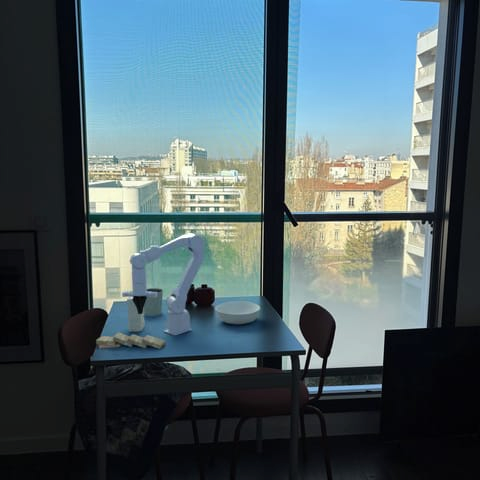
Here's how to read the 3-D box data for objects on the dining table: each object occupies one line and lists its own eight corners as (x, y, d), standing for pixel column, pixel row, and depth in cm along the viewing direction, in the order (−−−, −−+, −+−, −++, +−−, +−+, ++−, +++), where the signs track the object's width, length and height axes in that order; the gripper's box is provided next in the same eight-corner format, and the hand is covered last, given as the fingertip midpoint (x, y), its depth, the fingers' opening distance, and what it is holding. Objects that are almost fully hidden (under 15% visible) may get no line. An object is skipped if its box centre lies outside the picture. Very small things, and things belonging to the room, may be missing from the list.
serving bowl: (219, 330, 204) (219, 315, 203) (212, 316, 225) (212, 303, 224) (265, 326, 208) (265, 311, 207) (254, 313, 229) (254, 300, 228)
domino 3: (150, 340, 189) (132, 334, 190) (146, 344, 184) (127, 338, 185) (149, 343, 189) (131, 337, 190) (145, 348, 184) (126, 342, 185)
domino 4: (165, 340, 188) (147, 334, 189) (160, 345, 183) (142, 339, 184) (164, 344, 188) (146, 338, 189) (160, 348, 183) (141, 342, 184)
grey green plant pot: (139, 314, 231) (138, 290, 229) (156, 309, 238) (155, 287, 236) (150, 318, 224) (149, 294, 222) (167, 313, 231) (166, 290, 229)
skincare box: (141, 331, 204) (140, 298, 202) (128, 332, 204) (126, 299, 202) (144, 325, 213) (143, 294, 211) (131, 326, 212) (130, 294, 210)
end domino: (119, 340, 191) (99, 342, 189) (119, 344, 186) (99, 346, 185) (120, 344, 192) (99, 346, 190) (119, 348, 187) (99, 350, 185)
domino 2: (136, 338, 190) (118, 332, 191) (132, 343, 186) (113, 336, 186) (135, 342, 191) (116, 335, 191) (131, 347, 186) (112, 340, 186)
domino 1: (120, 337, 191) (102, 336, 192) (114, 341, 186) (96, 340, 187) (120, 340, 191) (102, 339, 193) (114, 345, 186) (96, 344, 188)
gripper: (158, 280, 197) (159, 311, 199) (125, 279, 199) (127, 310, 201) (154, 283, 190) (155, 315, 192) (119, 283, 192) (121, 315, 194)
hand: (140, 313), depth 196 cm, fingers closed
